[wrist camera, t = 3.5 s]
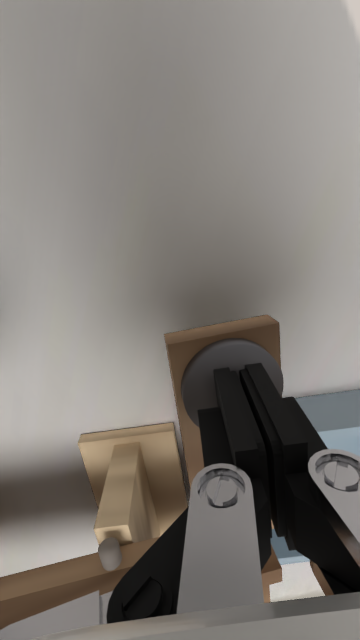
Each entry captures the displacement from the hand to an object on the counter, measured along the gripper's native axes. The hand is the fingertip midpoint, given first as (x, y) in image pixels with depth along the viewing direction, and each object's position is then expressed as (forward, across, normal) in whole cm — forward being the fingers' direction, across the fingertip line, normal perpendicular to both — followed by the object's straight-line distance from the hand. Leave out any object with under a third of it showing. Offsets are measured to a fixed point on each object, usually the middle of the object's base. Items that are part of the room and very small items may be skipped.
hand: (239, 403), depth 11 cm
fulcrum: (+8, +6, +10) cm, 14 cm away
